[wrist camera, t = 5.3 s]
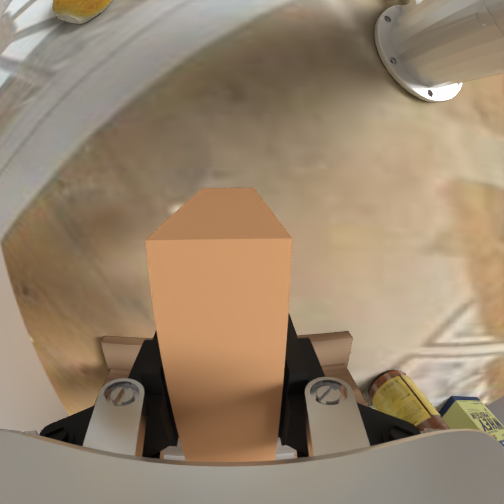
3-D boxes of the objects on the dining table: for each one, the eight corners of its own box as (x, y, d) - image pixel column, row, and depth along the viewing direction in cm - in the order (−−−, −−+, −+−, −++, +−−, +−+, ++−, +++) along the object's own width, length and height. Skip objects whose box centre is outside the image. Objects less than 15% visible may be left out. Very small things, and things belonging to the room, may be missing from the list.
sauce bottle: (361, 402, 37) (417, 512, 18) (375, 368, 35) (449, 482, 16) (398, 398, 37) (459, 493, 18) (413, 365, 36) (489, 461, 17)
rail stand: (105, 336, 31) (60, 411, 18) (348, 331, 33) (398, 404, 20) (123, 399, 34) (97, 475, 21) (335, 394, 36) (369, 468, 23)
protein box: (477, 395, 41) (519, 441, 26) (433, 449, 45) (463, 497, 30) (451, 394, 40) (497, 449, 25) (402, 452, 43) (433, 509, 28)
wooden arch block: (202, 188, 17) (145, 240, 6) (253, 187, 18) (292, 238, 6) (209, 336, 20) (195, 490, 9) (252, 336, 20) (271, 489, 9)
